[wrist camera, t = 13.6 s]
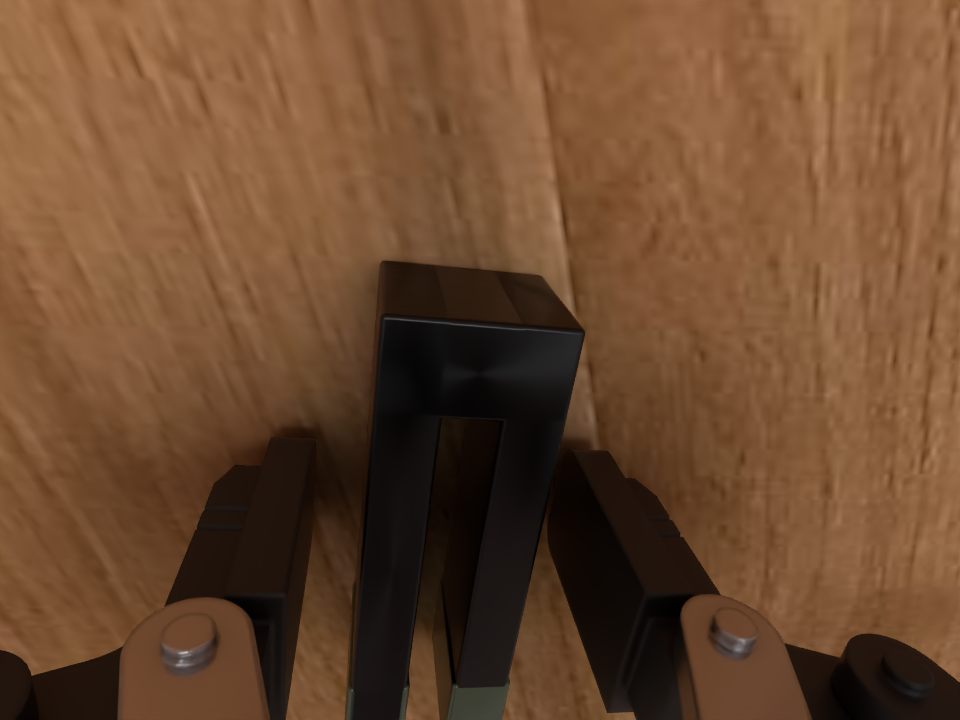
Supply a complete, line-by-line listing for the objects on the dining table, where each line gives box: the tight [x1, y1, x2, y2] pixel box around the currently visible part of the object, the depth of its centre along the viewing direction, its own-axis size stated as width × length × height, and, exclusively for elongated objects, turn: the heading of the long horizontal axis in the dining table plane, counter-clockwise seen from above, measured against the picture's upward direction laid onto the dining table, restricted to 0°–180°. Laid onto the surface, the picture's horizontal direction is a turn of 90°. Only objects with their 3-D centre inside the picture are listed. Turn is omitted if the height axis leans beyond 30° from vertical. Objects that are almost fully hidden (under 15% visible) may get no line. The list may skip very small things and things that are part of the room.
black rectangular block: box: [345, 261, 585, 720], centre depth 10 cm, size 8×3×2 cm, turn 172°
